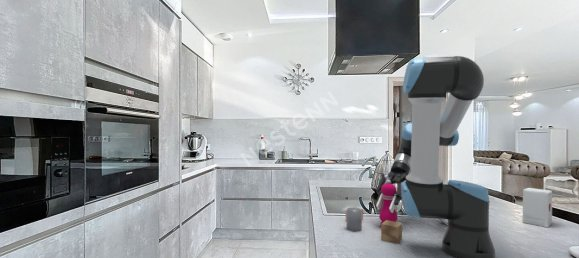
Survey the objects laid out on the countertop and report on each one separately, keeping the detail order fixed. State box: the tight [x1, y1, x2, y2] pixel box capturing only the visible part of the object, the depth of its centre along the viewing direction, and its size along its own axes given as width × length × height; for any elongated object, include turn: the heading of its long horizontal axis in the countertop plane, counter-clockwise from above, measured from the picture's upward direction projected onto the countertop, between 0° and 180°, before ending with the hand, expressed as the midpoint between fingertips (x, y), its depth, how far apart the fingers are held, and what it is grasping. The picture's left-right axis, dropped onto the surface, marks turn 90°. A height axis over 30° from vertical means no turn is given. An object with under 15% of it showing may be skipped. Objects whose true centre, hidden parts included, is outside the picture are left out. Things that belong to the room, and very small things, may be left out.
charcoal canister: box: [346, 207, 363, 233], centre depth 119 cm, size 6×6×8 cm
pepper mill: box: [378, 179, 398, 228], centre depth 121 cm, size 7×7×20 cm
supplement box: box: [522, 187, 553, 228], centre depth 130 cm, size 9×9×15 cm
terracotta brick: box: [345, 207, 364, 223], centre depth 130 cm, size 4×8×5 cm, turn 135°
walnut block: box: [380, 220, 403, 245], centre depth 108 cm, size 6×6×6 cm
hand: (384, 209), depth 119 cm, fingers closed on pepper mill, 5 cm apart
